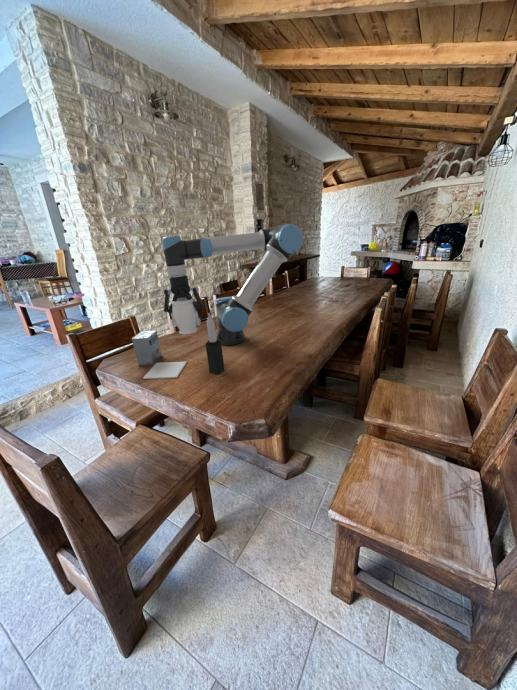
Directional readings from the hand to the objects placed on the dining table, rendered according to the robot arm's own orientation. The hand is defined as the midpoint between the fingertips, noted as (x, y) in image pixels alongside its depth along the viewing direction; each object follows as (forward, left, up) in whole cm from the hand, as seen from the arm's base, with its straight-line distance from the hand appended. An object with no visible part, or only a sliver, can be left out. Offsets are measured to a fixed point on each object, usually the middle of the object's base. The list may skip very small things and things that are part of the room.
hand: (187, 325), depth 124 cm
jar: (0, 0, -3) cm, 3 cm away
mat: (+8, +14, -15) cm, 22 cm away
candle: (-15, +16, -16) cm, 26 cm away
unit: (+19, +3, -15) cm, 25 cm away
